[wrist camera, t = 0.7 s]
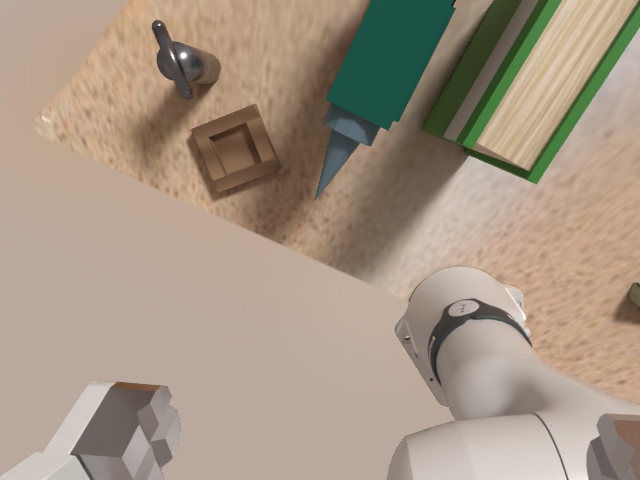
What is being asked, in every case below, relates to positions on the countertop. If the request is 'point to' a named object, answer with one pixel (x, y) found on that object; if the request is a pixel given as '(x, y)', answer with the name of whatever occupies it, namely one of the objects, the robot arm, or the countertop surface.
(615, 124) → the countertop surface
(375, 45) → the power tool
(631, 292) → the medication box
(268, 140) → the brown square frame
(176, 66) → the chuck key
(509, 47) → the hardback book
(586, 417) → the robot arm
